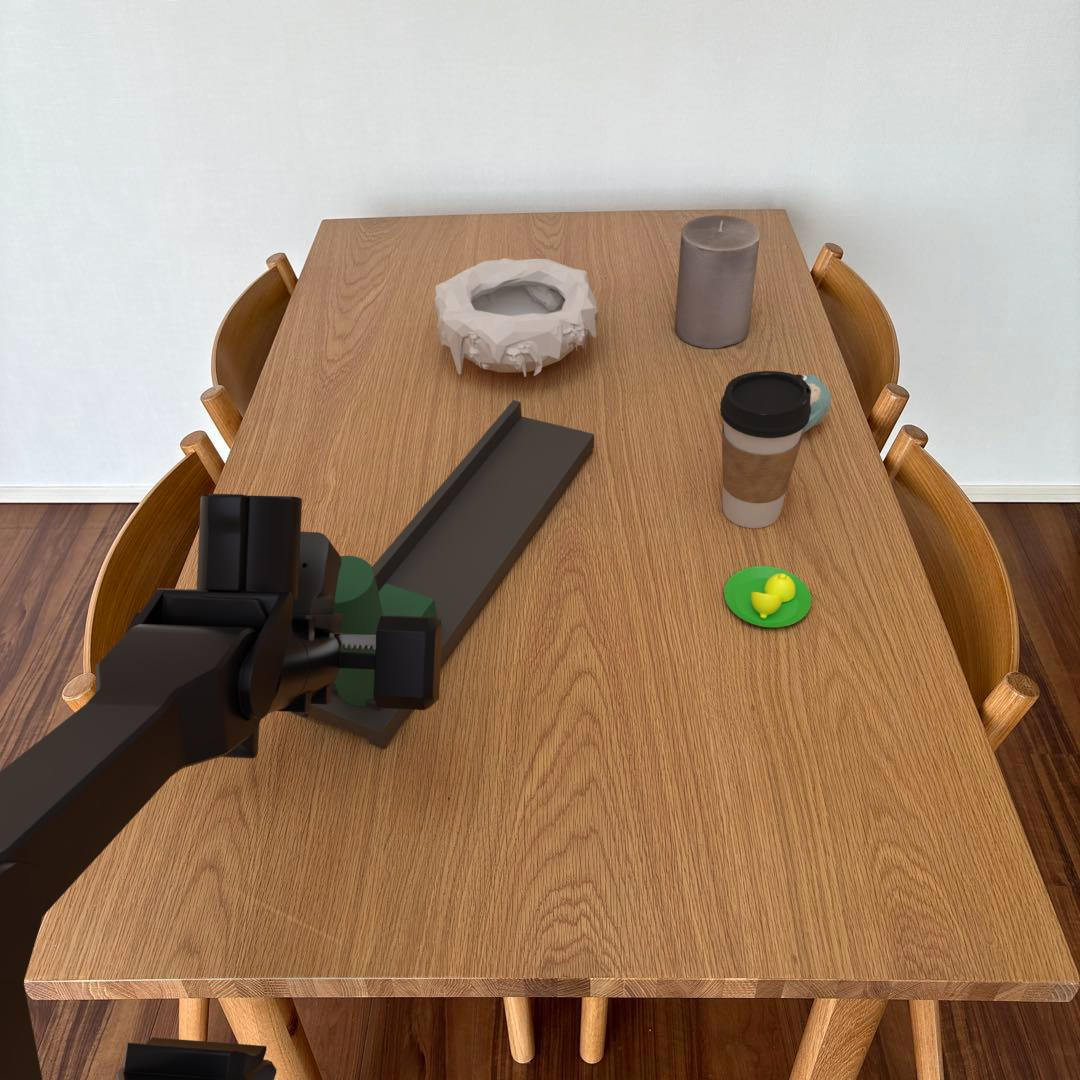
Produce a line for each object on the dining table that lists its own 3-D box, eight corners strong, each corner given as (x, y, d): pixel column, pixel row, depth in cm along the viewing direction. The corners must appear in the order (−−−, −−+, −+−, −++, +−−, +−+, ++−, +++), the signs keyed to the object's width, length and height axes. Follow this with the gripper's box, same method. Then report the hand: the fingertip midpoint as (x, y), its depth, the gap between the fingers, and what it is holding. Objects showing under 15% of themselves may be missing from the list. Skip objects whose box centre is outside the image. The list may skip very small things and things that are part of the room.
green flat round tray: (805, 639, 86) (809, 618, 84) (716, 622, 88) (719, 601, 86) (814, 579, 92) (819, 557, 90) (731, 564, 94) (733, 543, 92)
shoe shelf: (386, 750, 79) (377, 717, 76) (288, 711, 83) (276, 678, 80) (594, 451, 108) (594, 419, 105) (515, 431, 112) (513, 399, 109)
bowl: (477, 306, 134) (471, 238, 127) (618, 327, 128) (619, 257, 121) (412, 386, 120) (401, 314, 113) (567, 413, 114) (565, 340, 107)
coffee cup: (794, 540, 96) (816, 417, 86) (708, 533, 97) (721, 412, 87) (791, 487, 102) (812, 366, 92) (711, 481, 103) (723, 362, 93)
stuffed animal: (717, 355, 112) (824, 340, 109) (724, 406, 116) (826, 392, 114) (720, 409, 104) (835, 393, 101) (727, 460, 108) (837, 447, 106)
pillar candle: (686, 307, 131) (693, 200, 121) (756, 318, 128) (770, 210, 118) (665, 342, 125) (670, 232, 114) (738, 355, 122) (751, 244, 111)
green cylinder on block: (377, 714, 79) (350, 611, 71) (323, 694, 81) (291, 591, 72) (441, 625, 86) (424, 521, 78) (391, 608, 88) (368, 505, 80)
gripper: (418, 539, 58) (464, 549, 74) (126, 530, 60) (230, 541, 75) (410, 724, 58) (458, 695, 73) (116, 708, 59) (223, 683, 75)
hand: (341, 649), depth 74 cm, fingers open, 9 cm apart
